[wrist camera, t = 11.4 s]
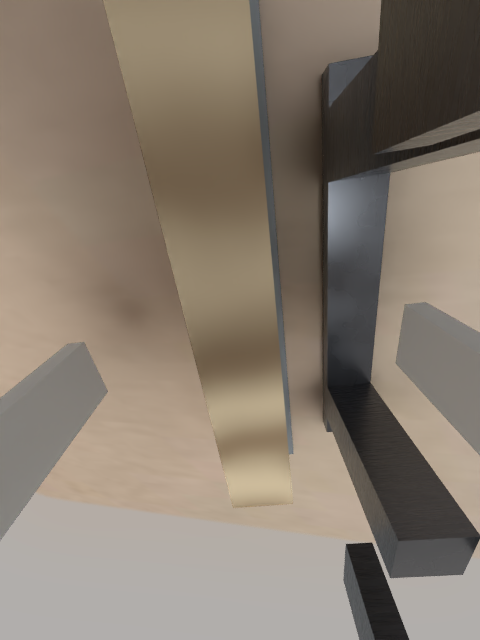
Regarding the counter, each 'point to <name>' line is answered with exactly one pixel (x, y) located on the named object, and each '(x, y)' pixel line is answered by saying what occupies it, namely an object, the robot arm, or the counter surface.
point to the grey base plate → (270, 200)
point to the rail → (213, 218)
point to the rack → (364, 278)
